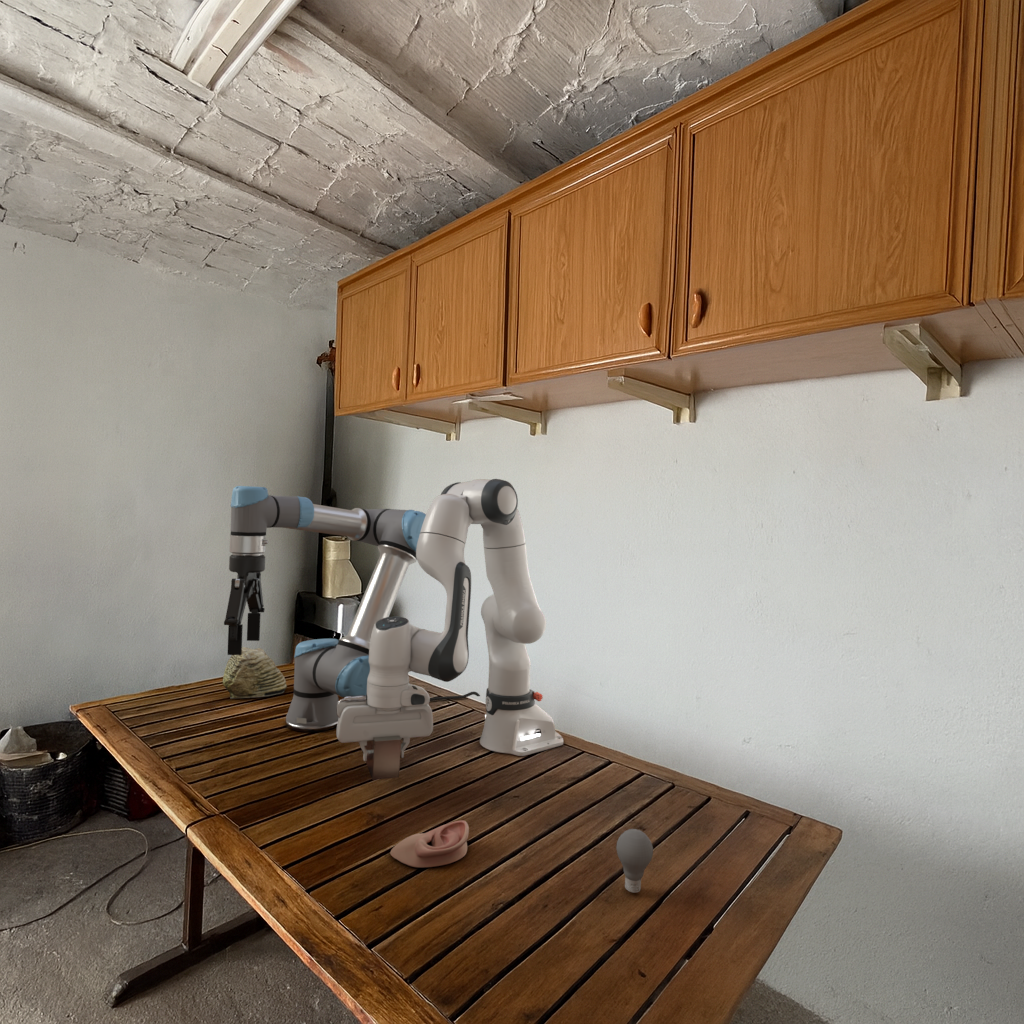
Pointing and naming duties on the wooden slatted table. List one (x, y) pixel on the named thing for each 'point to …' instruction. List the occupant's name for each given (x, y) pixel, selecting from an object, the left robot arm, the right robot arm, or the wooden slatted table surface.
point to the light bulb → (634, 857)
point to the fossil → (253, 675)
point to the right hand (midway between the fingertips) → (383, 758)
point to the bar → (384, 757)
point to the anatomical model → (434, 846)
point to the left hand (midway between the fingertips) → (244, 647)
